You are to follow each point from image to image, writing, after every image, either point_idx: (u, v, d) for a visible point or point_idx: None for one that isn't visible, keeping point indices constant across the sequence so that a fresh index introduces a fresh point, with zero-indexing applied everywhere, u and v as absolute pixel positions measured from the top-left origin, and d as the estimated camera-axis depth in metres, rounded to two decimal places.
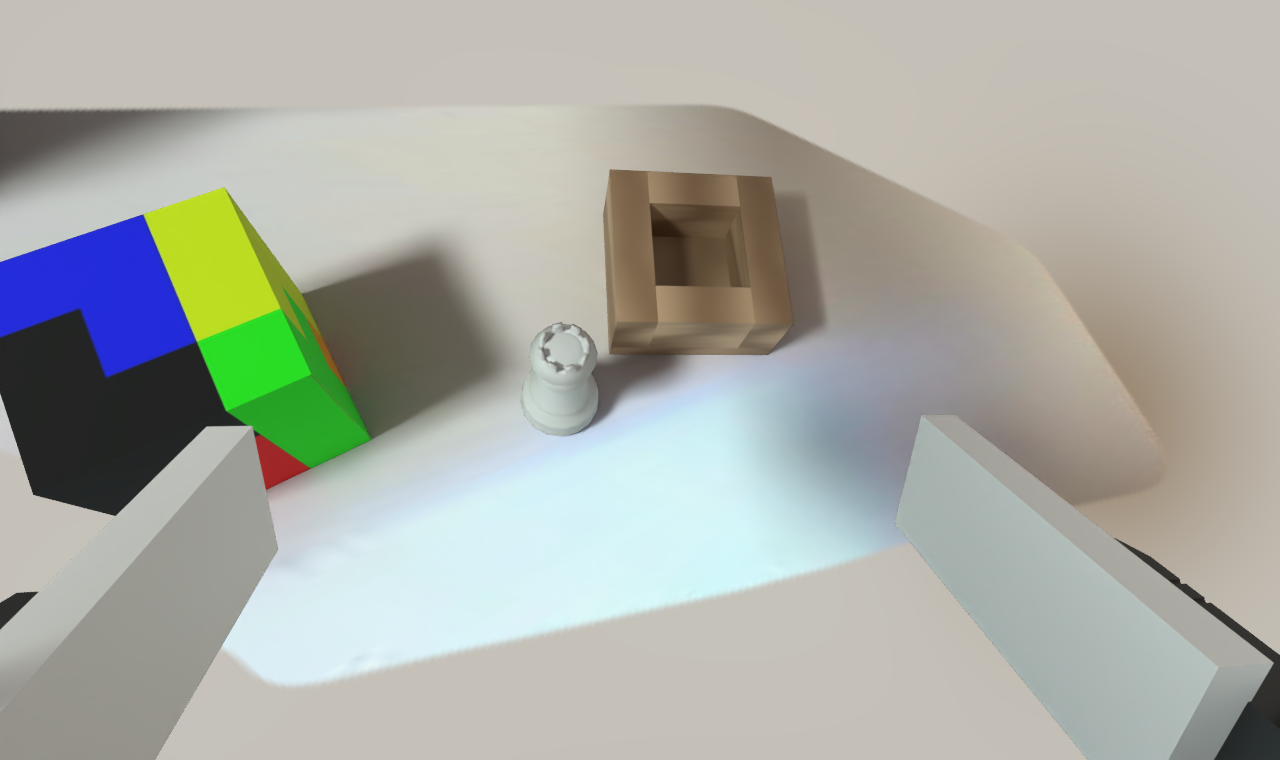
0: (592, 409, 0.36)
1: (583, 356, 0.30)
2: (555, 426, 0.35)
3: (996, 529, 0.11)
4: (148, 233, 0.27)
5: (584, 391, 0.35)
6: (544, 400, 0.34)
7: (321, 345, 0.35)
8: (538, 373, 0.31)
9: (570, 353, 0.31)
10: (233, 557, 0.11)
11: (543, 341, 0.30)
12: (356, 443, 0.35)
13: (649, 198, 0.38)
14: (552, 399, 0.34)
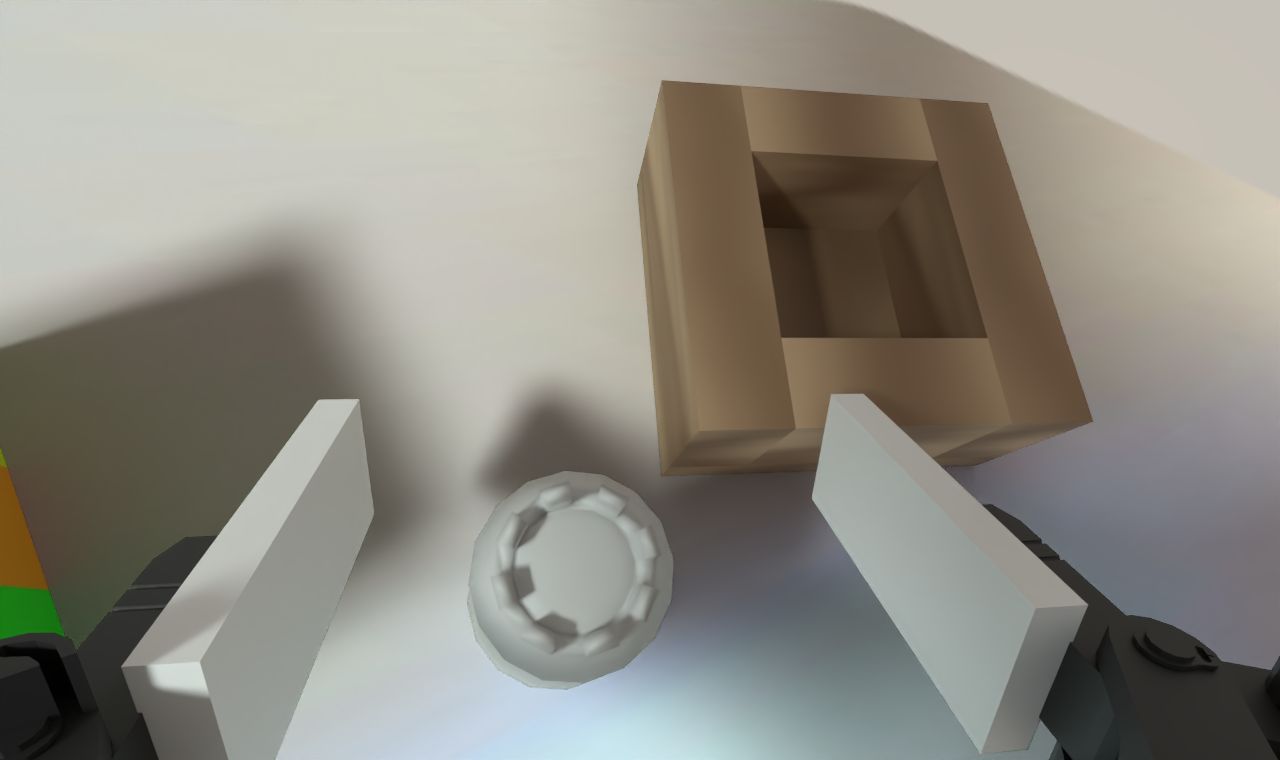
0: None
1: (640, 597, 0.09)
2: (549, 684, 0.15)
3: (884, 497, 0.12)
4: None
5: None
6: None
7: None
8: (497, 644, 0.10)
9: (597, 581, 0.10)
10: (348, 515, 0.12)
11: (511, 547, 0.10)
12: None
13: (748, 141, 0.18)
14: None
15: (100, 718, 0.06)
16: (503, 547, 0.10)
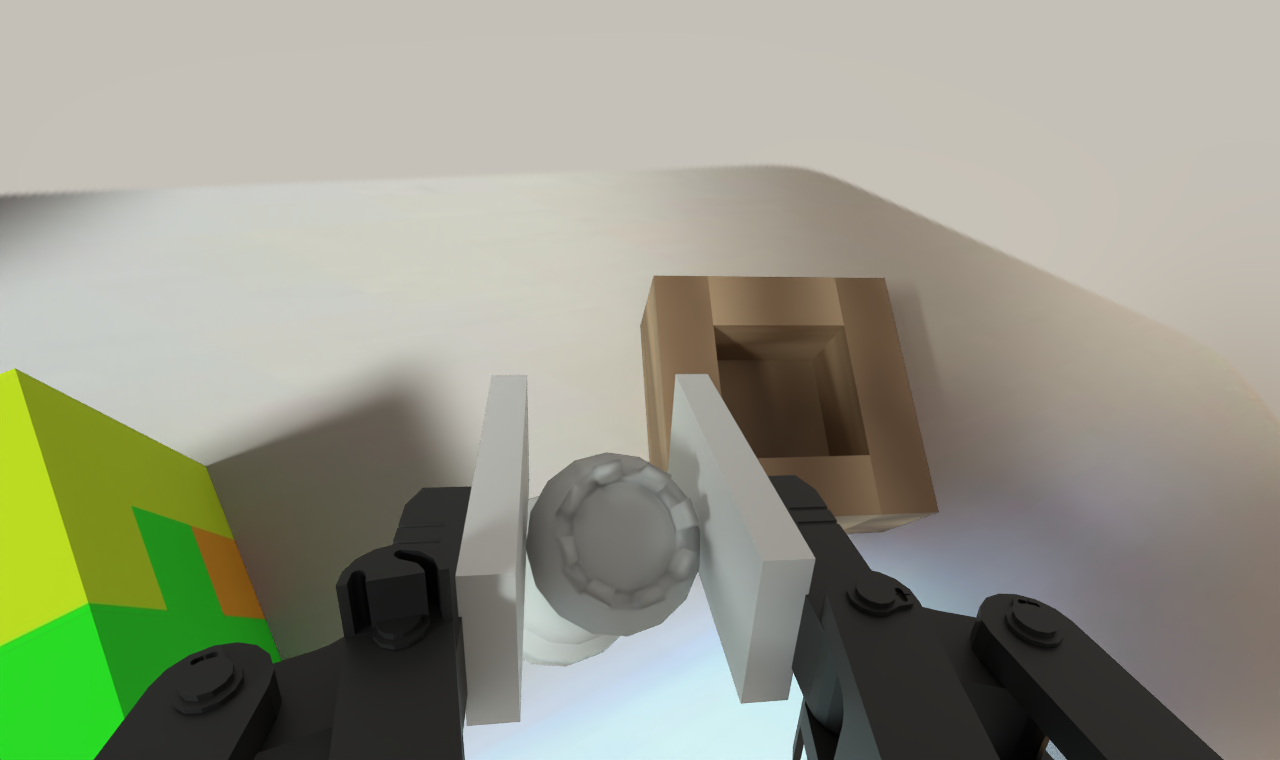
0: None
1: (683, 559, 0.11)
2: (556, 658, 0.16)
3: (698, 469, 0.13)
4: None
5: None
6: (540, 615, 0.14)
7: (219, 567, 0.23)
8: (552, 601, 0.11)
9: (643, 546, 0.11)
10: (526, 477, 0.14)
11: (570, 515, 0.11)
12: None
13: (712, 317, 0.26)
14: (564, 619, 0.14)
15: (453, 626, 0.08)
16: (561, 515, 0.11)
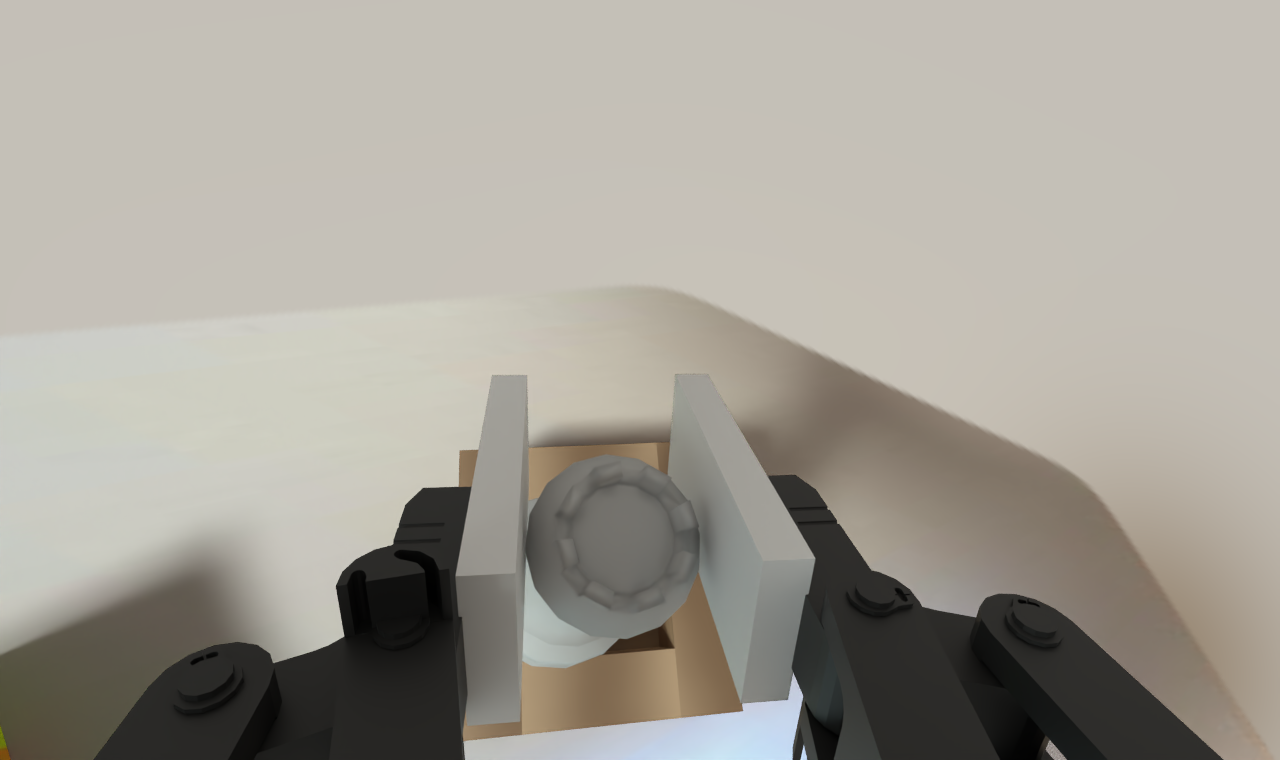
0: None
1: (682, 562, 0.11)
2: (555, 660, 0.16)
3: (698, 469, 0.13)
4: None
5: None
6: (540, 616, 0.14)
7: None
8: (552, 604, 0.11)
9: (643, 548, 0.11)
10: (526, 477, 0.14)
11: (569, 517, 0.11)
12: None
13: None
14: (563, 621, 0.14)
15: (453, 626, 0.08)
16: (560, 517, 0.11)
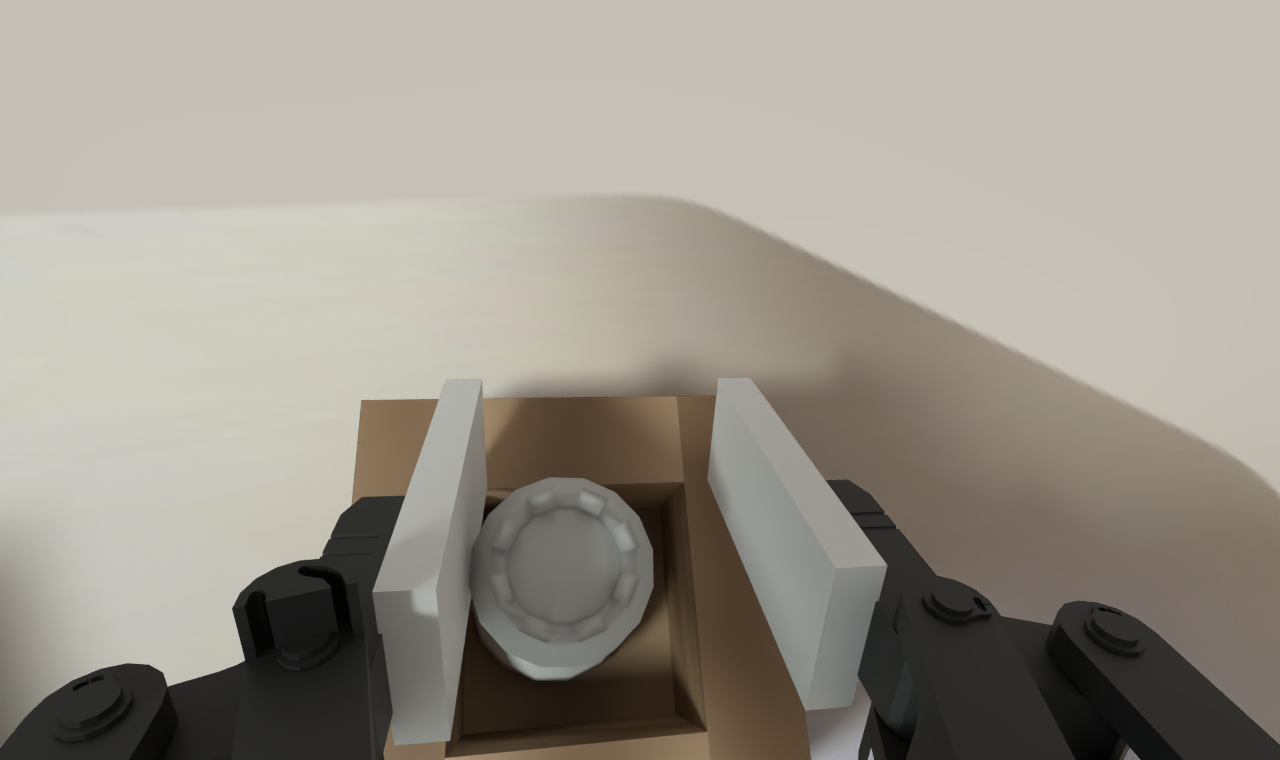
0: None
1: (623, 586, 0.11)
2: (551, 676, 0.16)
3: (749, 474, 0.12)
4: None
5: None
6: None
7: None
8: (498, 638, 0.11)
9: (584, 574, 0.11)
10: (478, 484, 0.13)
11: (504, 550, 0.11)
12: None
13: None
14: None
15: (365, 641, 0.07)
16: (497, 550, 0.11)
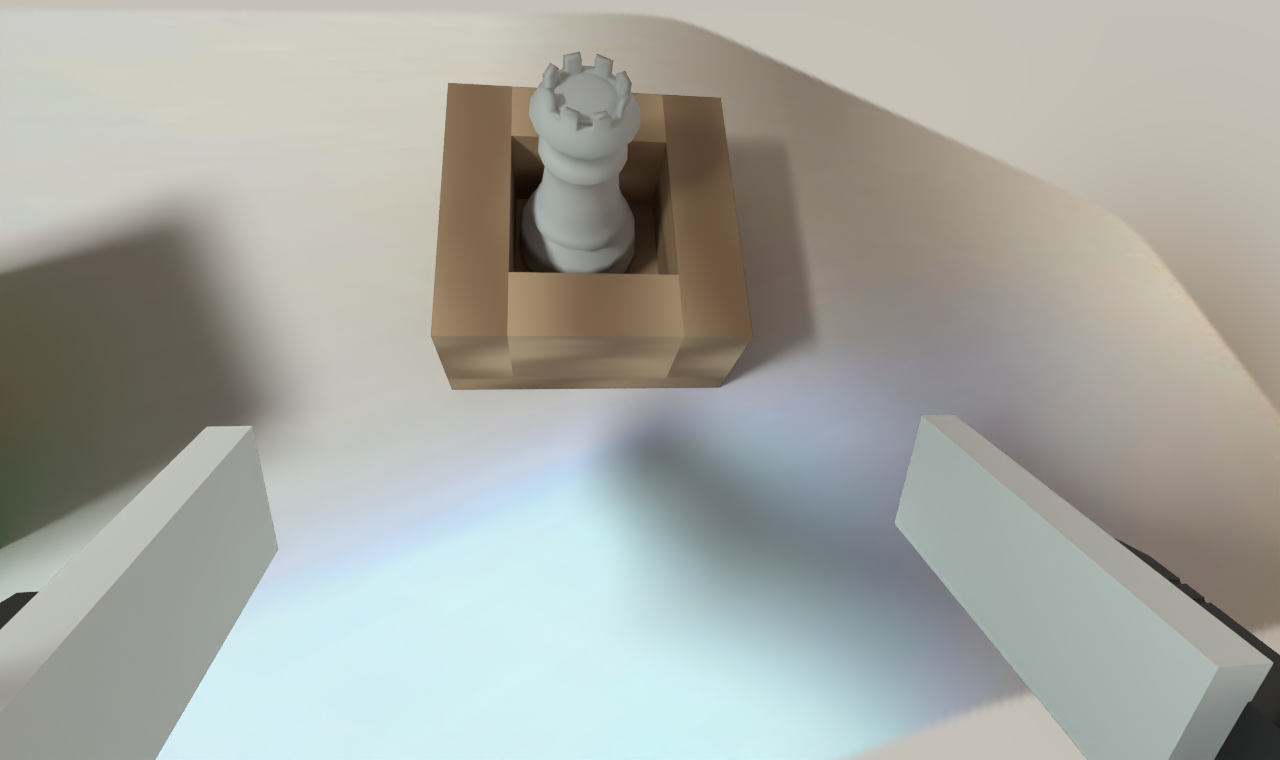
0: (629, 244, 0.24)
1: (621, 99, 0.18)
2: (575, 269, 0.23)
3: (996, 529, 0.11)
4: None
5: (617, 205, 0.22)
6: (557, 221, 0.22)
7: None
8: (547, 138, 0.18)
9: (598, 100, 0.18)
10: (233, 557, 0.11)
11: (551, 83, 0.18)
12: None
13: (511, 128, 0.23)
14: (571, 211, 0.21)
15: None
16: (546, 87, 0.18)
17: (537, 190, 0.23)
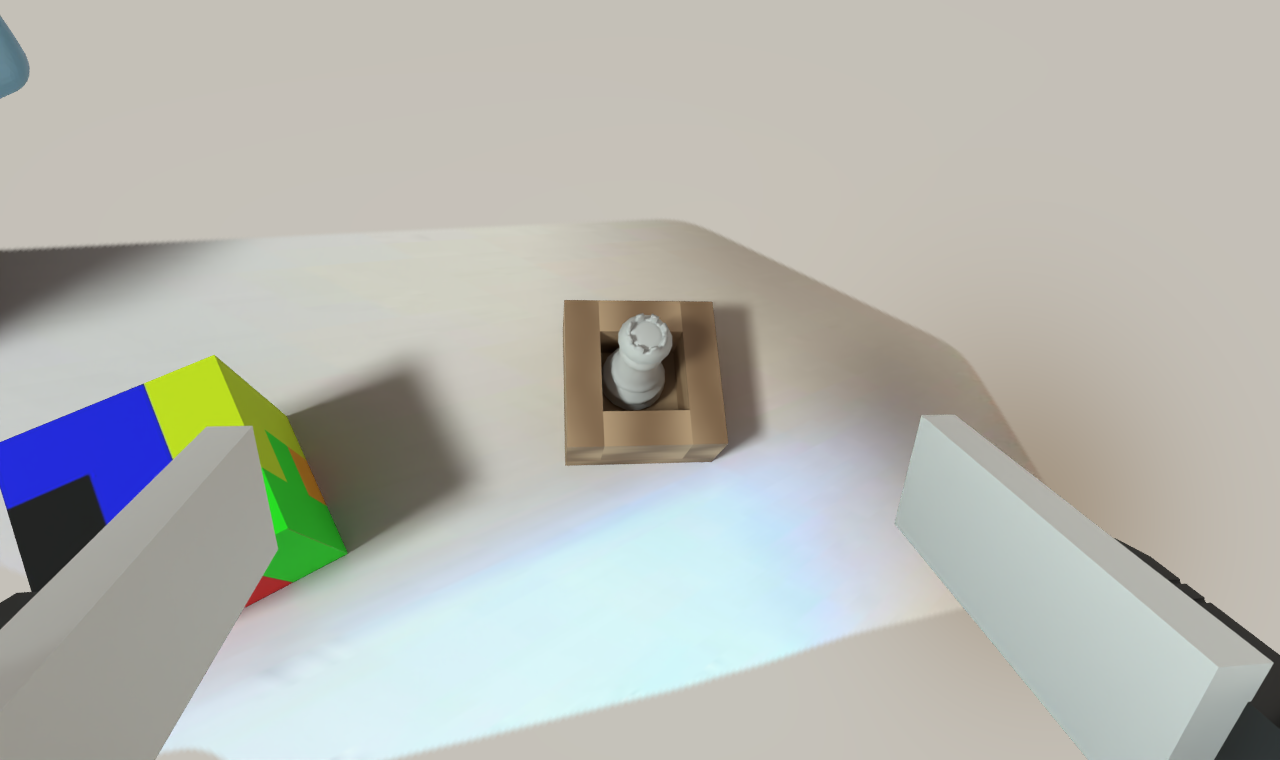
0: (662, 385, 0.43)
1: (664, 339, 0.37)
2: (633, 401, 0.43)
3: (996, 530, 0.11)
4: (148, 401, 0.32)
5: (657, 370, 0.42)
6: (625, 380, 0.41)
7: (302, 471, 0.39)
8: (627, 355, 0.38)
9: (652, 337, 0.38)
10: (233, 557, 0.11)
11: (630, 330, 0.38)
12: (334, 558, 0.39)
13: (599, 326, 0.42)
14: (633, 377, 0.41)
15: None
16: (627, 330, 0.38)
17: (613, 358, 0.43)
